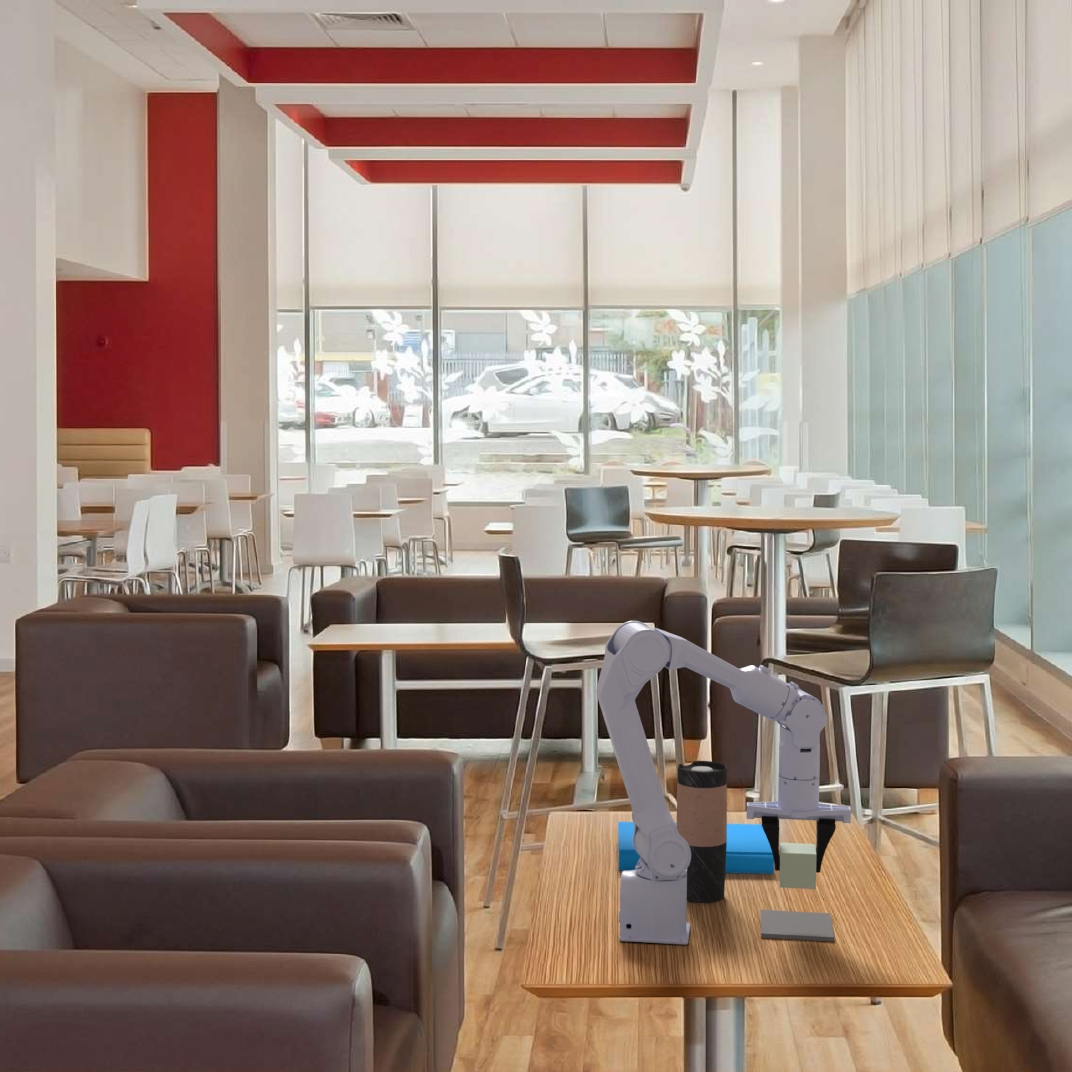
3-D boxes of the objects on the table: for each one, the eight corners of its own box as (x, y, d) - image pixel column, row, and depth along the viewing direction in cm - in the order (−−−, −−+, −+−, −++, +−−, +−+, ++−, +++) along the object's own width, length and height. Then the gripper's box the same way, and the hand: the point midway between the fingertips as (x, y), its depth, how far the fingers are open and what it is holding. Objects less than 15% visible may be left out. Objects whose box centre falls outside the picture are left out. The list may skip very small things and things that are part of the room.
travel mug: (724, 905, 213) (725, 773, 212) (673, 901, 215) (674, 770, 213) (727, 889, 221) (729, 761, 219) (678, 885, 222) (679, 759, 221)
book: (616, 821, 246) (762, 821, 245) (617, 846, 246) (762, 846, 245) (618, 850, 229) (775, 850, 228) (618, 877, 229) (775, 877, 228)
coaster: (761, 937, 200) (761, 933, 200) (760, 913, 210) (760, 909, 210) (834, 941, 198) (834, 937, 198) (830, 917, 208) (830, 913, 208)
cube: (779, 887, 201) (780, 852, 201) (779, 876, 206) (779, 842, 206) (815, 889, 200) (816, 854, 200) (814, 878, 205) (815, 843, 205)
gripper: (746, 780, 199) (745, 875, 200) (853, 784, 197) (851, 880, 198) (747, 768, 206) (746, 860, 207) (849, 772, 204) (847, 865, 205)
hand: (797, 869), depth 203 cm, fingers closed on cube, 5 cm apart
